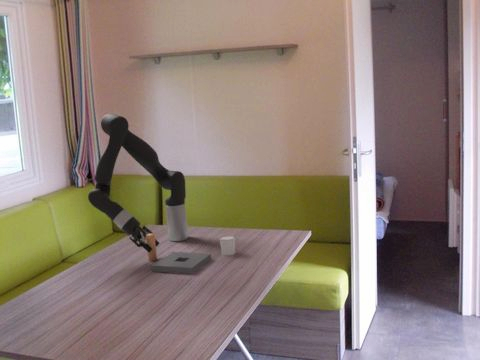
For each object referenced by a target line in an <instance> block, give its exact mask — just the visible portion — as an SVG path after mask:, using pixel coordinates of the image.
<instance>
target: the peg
mask: <svg viewBox="0 0 480 360" xmlns="http://www.w3.org/2000/svg"><path fill="white" fill-rule="evenodd" d="M155 239H156V237H155V233H153V234H147V235H146V243H147V244H148V245H149V246H150V247H151V248H152V250H151V252H148V251H147V257H148V261H149V262H150V261H151V262H153V261H157V260H158V256H157V246H156V244H155Z"/></svg>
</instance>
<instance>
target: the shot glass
mask: <svg viewBox="0 0 480 360" xmlns="http://www.w3.org/2000/svg"><path fill="white" fill-rule="evenodd" d="M219 244H220V249H221V254H222V256H225V257H226V256H227V257H228V256H234V255H235V254H236V237H235V236H232V235H224V236H221V237H219Z"/></svg>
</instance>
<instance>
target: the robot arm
mask: <svg viewBox="0 0 480 360" xmlns="http://www.w3.org/2000/svg"><path fill="white" fill-rule="evenodd" d="M100 127H101V129H102V131H103V132H104V134H106V135H108V136H109V138H108V143H107V147H106V149H105V150H104V152H103V153H102V155H101V157H100V158H99V160H98V163H97V167H96V169H95V170H96V171H95V175H94V181H95V188H93V189H92V190H90V192H89V193H88V195H87V198H88V201H89V203H90V204H91V206H92V207H94V208H95V209H96V210H98V211H100V212H102V213H103V214H105V216H107V217H108V218H109V219H110V220H111V221H113V223H114V224H115V225H116V226H117V227H118V228H119V229H120V230H121V231H122V232H123V233H125V235H127V236H129V240H130V241H132V242H133V244H135V246H137V248H143V249H144V250H146V252H147V253H148V252H151V250H152V248H151V247H150V246H149V245H148V244H147V240H146V235H147V234H154V233H153V232H152V230H150V229H149V228H148V227H147V226H145V225H142V227H141V226H140V225H141V222H140V220H138V219H137V218H136V217H135V216H133V215H132V213H130V212H129V211H128V210H127V209H125V208H124V207H123V206H122V205H121V204H119V203H118V202H116V201H114V200H111V198H110V195H111V186H112V185H111V181H112V177H113V174H114V170H115V166H116V163H117V162H116V161H117V160H118V156H119V153H120V151H121V148H123V149H124V150H125V151H126V152H127V154H129V155H130V157H132V159H133V160H135V162H137V163H138V164H139V166H142V168H144V170H145V171H147V172H148V173H149V174H150V175H151V176H152V177H153V178H154V179H155V181H156V182H157V184H159V186H160V187H161V188H163V189H164V190H168V191H170V196H169V197H166V198H165V202H164V204H165V210H166V211H165V213H166V223H167V233H168V234H167V235H168V240H169V241H171V242H182V241H185V240H187V239H188V238H189V230H188V219H187V213H186V212H187V211H186V203H185V202H186V201H185V200H186V196H187V195H186V194H187V193H186V179H185V178H186V177H185V175H184V173H182V171H179V170H170V169H167V168H166V167H165V166H164V165H162V164H161V162H160V159H159V155H158V153H157V151H156V150H155V149H154V148H153V147H152V146H151V145H150V144H149V143H147V142H146V141H145V140H144V139H142V138H141V137H139V136H138V135H137V134H135V133H133V132H132V131H130V130H129V122H128V120H127V118H126V117H124V116H121V115H119V114H115V113H107V114H105V115H103V117H102V118H101V120H100ZM145 240H146V241H145ZM155 244H156V247H158V246H159V245H160V241H158V239H156V238H155Z"/></svg>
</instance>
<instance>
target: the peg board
mask: <svg viewBox="0 0 480 360" xmlns="http://www.w3.org/2000/svg"><path fill="white" fill-rule="evenodd" d="M210 261H212V253H204V252H182V251H181V252H180V251H172V252H170V253H169V254H167V255H165V256H164V257H163V258H161V259H159V260H158V261H157V262H155V263H153V264H152V265H151V271H152V272H156V273H173V274H185V275H187V274H188V275H193V274H194V273H196V272H197V271H198V270H200V269H201V268H202V267H203V266H205V265H206V264H208V263H209V262H210Z"/></svg>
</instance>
